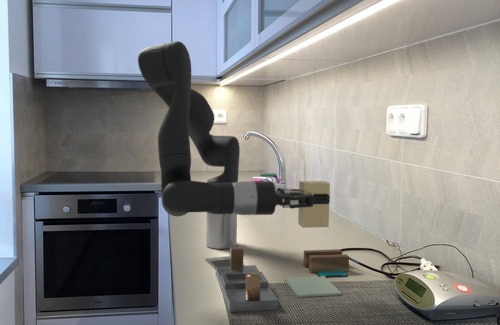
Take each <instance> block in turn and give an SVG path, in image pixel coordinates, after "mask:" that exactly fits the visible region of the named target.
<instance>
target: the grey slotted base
mask: <svg viewBox="0 0 500 325" xmlns="http://www.w3.org/2000/svg"><path fill="white" fill-rule="evenodd" d="M229 256H230V266H222V267H216V270H215V276H216V280H217V282H218V285H219V287H220V290H221V292H222V295H223V297H224V301H225V302H226V306H227V310H228V312H229V313H236V312H237V313H239V312H241V313H242V312H257V311H274V310H275V311H277V310H278V311H279V299H278V298H277V296H276V294H275V293H274V291H273V290H272V288H271V287H270V285H269V280H267V278H266V276H265V274H264V273H263V272H262V271H260V270H259V269H258V267H257V265H255V264H253V265H250V264H249V265H245V266H243V264H244V247H243V246H235V247H230V248H229Z"/></svg>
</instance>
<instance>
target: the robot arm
mask: <svg viewBox="0 0 500 325" xmlns="http://www.w3.org/2000/svg"><path fill="white" fill-rule="evenodd" d="M137 64H138V68H139V72H140V73H141V76H142V77H143V79H144V81H145V82H146V84H148V86H149V87H150V88H151V89H152V91H154V92H155V94H156V95H157V96H159V97H160V99H161V100H162V101H163V102H164V103H165V104H166V105H167V107H168V108H167V111H166V113H165V115H164V117H163V120H162V121H161V125H160V126H159V130H158V136H157V146H158V148H157V149H158V151H157V152H158V160H159V168H160V173H161V176H160V177H161V182H160V183H161V204H162V207H163V209H164V210H165V212H167V214H168V215H170V216H173V217H182V216H185V215H187V214H188V213H206V229H205V230H206V232H205V234H206V235H205V236H206V239H205V241H206V242H205V243H206V244H205V245H206V247H208V248H211V249H217V250H218V249H221V250H223V249H224V250H225V249H230V247H237V243H238V242H237V241H238V240H237V239H238V236H237V235H238V231H237V230H238V215H240V216H262V215H263V216H265V215H266V216H268V215H269V216H271V215H273V214H274V213H275V211H276V207H277V206H281V207H282V208H284V209H299V208H302V207H313V204H329V205H330V203H331V202H330V198H331V196H329V195H328V194H312V193H310V194H304V193H303V192H302V191H299V188H285V187H279V188H276V186H275V183H274V182H273V181H272V180H271V181H269V180H262V181H261V180H260V181H259V180H258V181H257V180H255V181H254V180H252V181H250V180H249V181H247V180H246V181H245V180H244V181H243V180H242V181H239V169H240V168H239V167H240V166H239V165H240V154H241V153H240V151H241V150H240V142H239V139H238V138H237V137H235V136H232V135H213V134H211V133H210V132H211V131H212V129H213V126H214V123H215V114H214V111H213V109H212V107H211V106H210V104H209V102H208V100H207V99H206V98H205V96H204V95H202V94H201V92H198V91H196V90H195V89H193V88H192V87H191V86H192V63H191V57H190V53H189V50H188V48H187V46H186V45H185V44H184V42H181V41H179V40H178V41H171V42H165V43H161V44H156V45H151V46H148V47H145V48H143V49H141V50H140V51H139V53H138V55H137ZM190 140H191V141H192V142H193V144H194V147H195V148H196V150H197V152H198V155H199V156H200V158H201V160H202V162H204V164H205V165H207V166H209V167H220V168H223V167H224V168H223V172H222V173H221V174H219V175H217V176H214V177H211V178H208V179H207V181H206V182H204V181H197V180H192V178H191V177H192V176H191V167H192V156H191V155H192V154H191V153H192V152H191V142H190ZM306 198H308V202H305V199H306Z"/></svg>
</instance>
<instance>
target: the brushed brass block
mask: <svg viewBox="0 0 500 325" xmlns="http://www.w3.org/2000/svg"><path fill="white" fill-rule="evenodd" d="M298 185H299V186H298V189H299V191H302V192H303V193H304V194H310V193H312V194H328V195H329V196H330V195H331V194H330V193H331V188H330V187H331V182H328V181H325V180H315V181H314V180H309V181H308V180H307V181H306V180H305V181H304V180H301V181H299V184H298ZM330 197H331V196H330ZM305 202H308V198H306V199H305ZM297 220H298V221H297V222H298V223H297V225H299V226H300V227H302V228H303V229H304V228H329V226H330V225H329V224H330V222H329V221H330V203H329V204H313V207H302V208H298V218H297Z"/></svg>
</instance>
